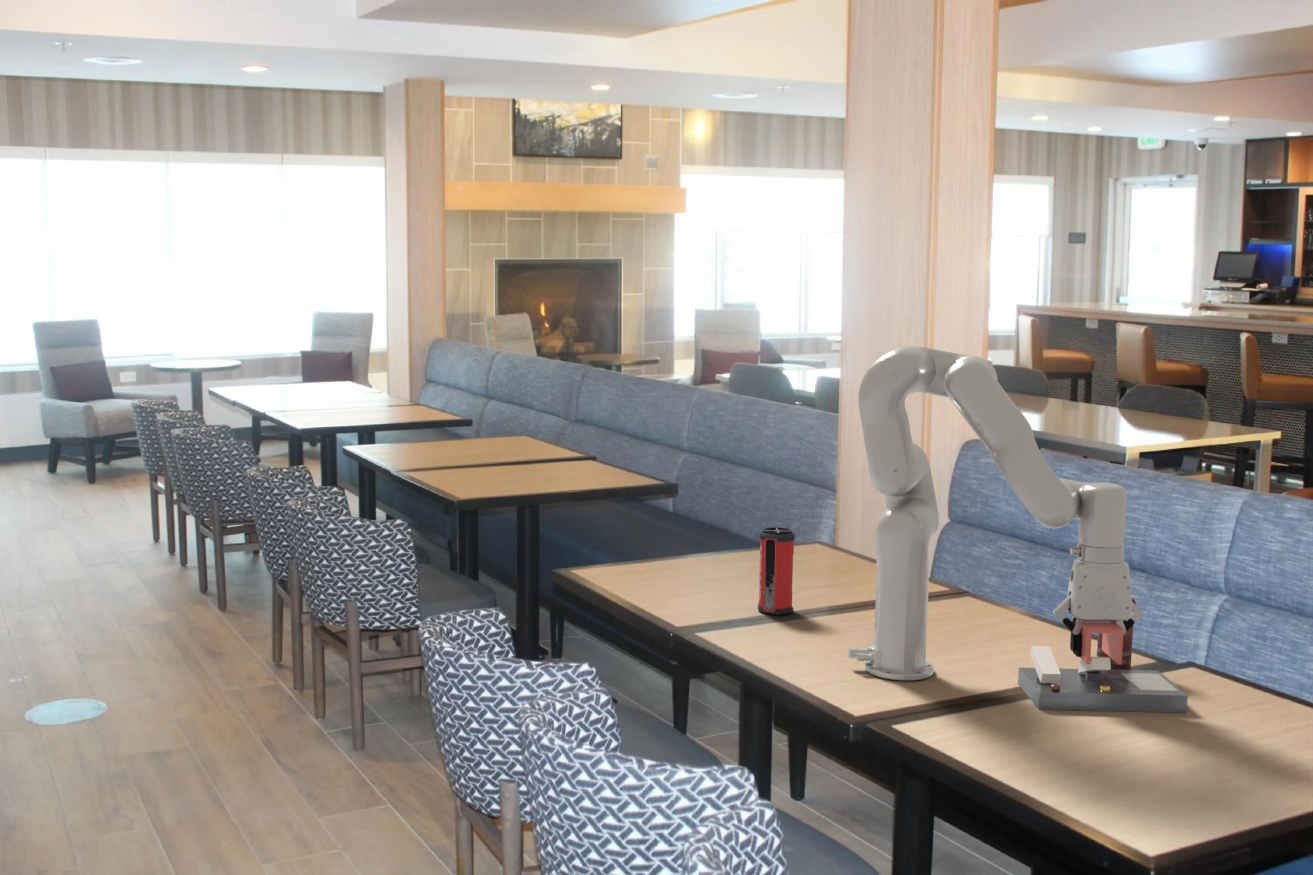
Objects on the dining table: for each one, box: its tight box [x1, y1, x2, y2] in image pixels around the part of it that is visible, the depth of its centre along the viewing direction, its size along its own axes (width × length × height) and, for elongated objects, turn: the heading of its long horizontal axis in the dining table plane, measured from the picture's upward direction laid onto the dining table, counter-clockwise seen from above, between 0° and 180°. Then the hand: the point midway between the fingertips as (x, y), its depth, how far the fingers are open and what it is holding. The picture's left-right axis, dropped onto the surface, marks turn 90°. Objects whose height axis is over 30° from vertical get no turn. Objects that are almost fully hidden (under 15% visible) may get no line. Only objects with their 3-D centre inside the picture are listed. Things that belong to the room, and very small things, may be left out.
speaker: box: [757, 527, 796, 616], centre depth 282 cm, size 8×8×18 cm
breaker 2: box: [1077, 656, 1111, 673], centre depth 228 cm, size 3×8×2 cm, turn 179°
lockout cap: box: [1079, 621, 1123, 665], centre depth 228 cm, size 6×9×6 cm, turn 179°
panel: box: [1017, 667, 1189, 714], centre depth 228 cm, size 25×14×4 cm, turn 89°
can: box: [1096, 597, 1137, 670], centre depth 244 cm, size 6×6×14 cm
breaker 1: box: [1029, 645, 1061, 683], centre depth 228 cm, size 3×8×2 cm, turn 179°
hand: (1096, 653), depth 228 cm, fingers closed on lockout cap, 6 cm apart
